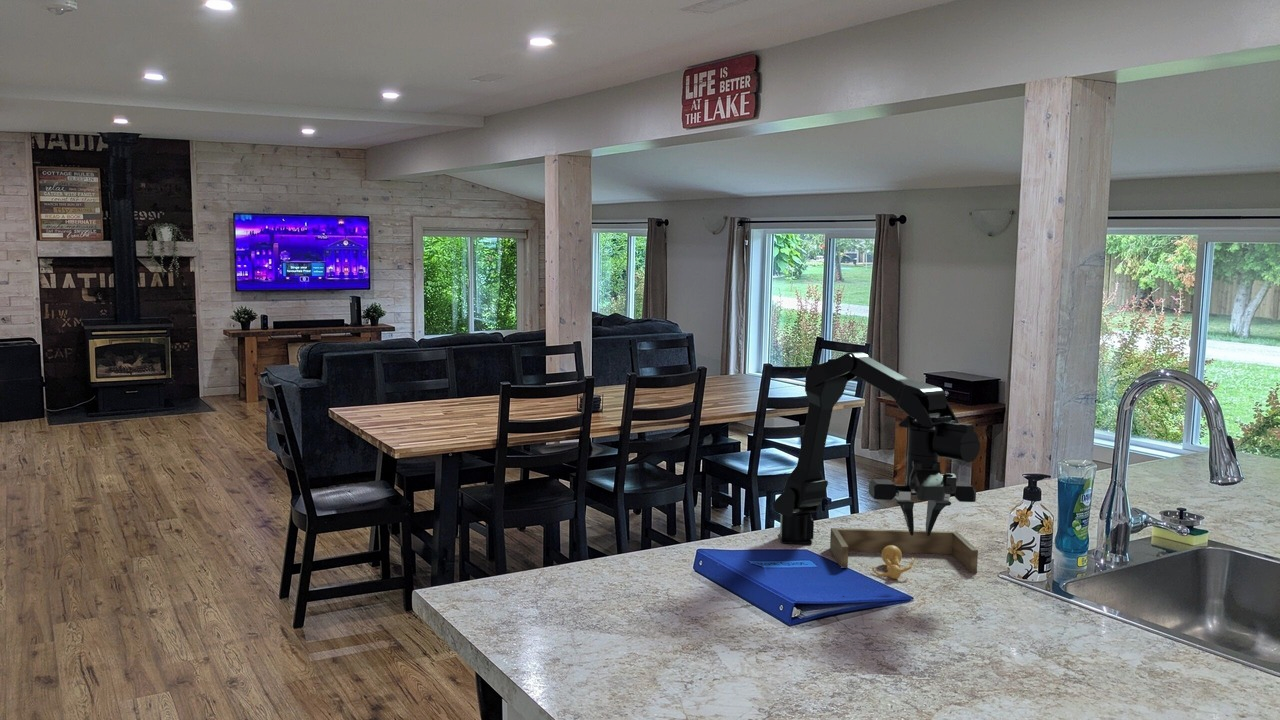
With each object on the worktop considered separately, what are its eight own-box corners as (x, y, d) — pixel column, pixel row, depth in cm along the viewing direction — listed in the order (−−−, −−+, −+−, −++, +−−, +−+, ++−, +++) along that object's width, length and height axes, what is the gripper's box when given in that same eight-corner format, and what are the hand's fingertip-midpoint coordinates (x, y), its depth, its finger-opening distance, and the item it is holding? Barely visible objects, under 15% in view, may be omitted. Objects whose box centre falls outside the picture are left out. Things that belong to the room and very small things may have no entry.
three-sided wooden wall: (841, 568, 190) (842, 546, 190) (830, 548, 204) (830, 528, 204) (976, 572, 189) (977, 550, 189) (956, 552, 203) (957, 531, 203)
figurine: (909, 539, 194) (908, 542, 183) (918, 569, 193) (918, 574, 181) (868, 550, 196) (865, 553, 185) (877, 579, 195) (874, 584, 183)
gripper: (882, 460, 173) (878, 545, 174) (987, 463, 172) (983, 548, 174) (869, 449, 184) (866, 529, 185) (968, 452, 183) (964, 532, 185)
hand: (919, 535), depth 182 cm, fingers open, 3 cm apart
